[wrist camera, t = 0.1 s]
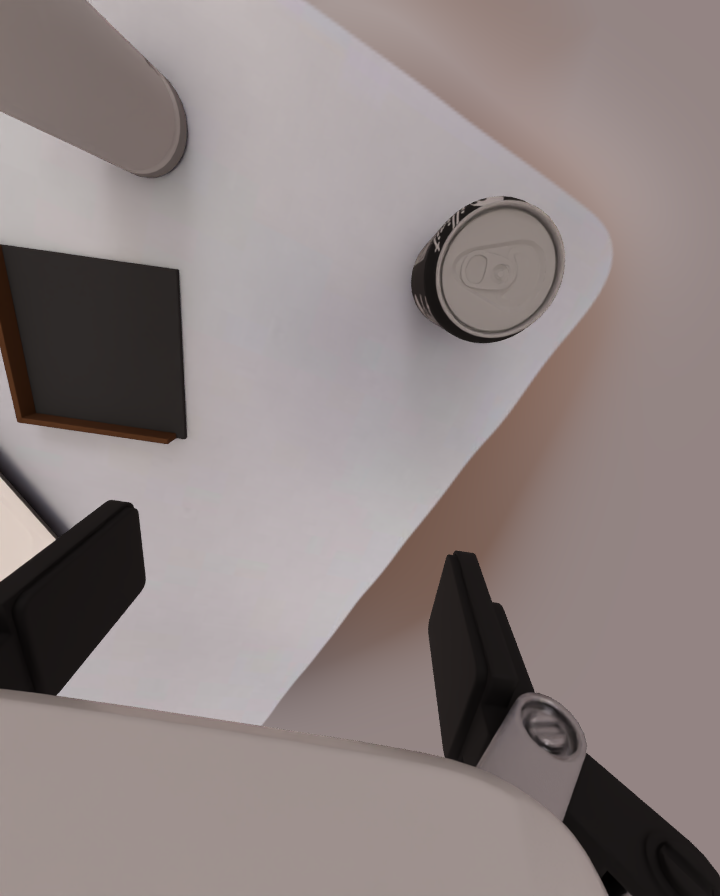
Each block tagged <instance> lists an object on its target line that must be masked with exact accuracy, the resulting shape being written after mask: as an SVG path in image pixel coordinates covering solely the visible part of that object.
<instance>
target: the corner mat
mask: <svg viewBox="0 0 720 896" xmlns="http://www.w3.org/2000/svg"><path fill="white" fill-rule="evenodd" d="M0 348H1V353H2V357H3V361H4V366H5V370H6V374H7V379H8V383H9V387H10V392H11V396H12V401H13V405H14V409H15V414H16V418H17V422H19V423H26V424H33V425H40V426H47V427H54V428H60V429H67V430H74V431H81V432H88V433H95V434H102V435H108V436H115V437H122V438H129V439H136V440H143V441H150V442H157V443H163V444H169V443H170V442H171V441H173V440H174V439H176V438H180V439H186V438H187V434H186V414H185V393H184V372H183V352H182V331H181V310H180V289H179V270H176V269H169V268H162V267H155V266H148V265H141V264H134V263H127V262H120V261H113V260H106V259H99V258H92V257H85V256H78V255H71V254H64V253H57V252H50V251H43V250H36V249H29V248H22V247H15V246H8V245H1V244H0Z"/></svg>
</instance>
